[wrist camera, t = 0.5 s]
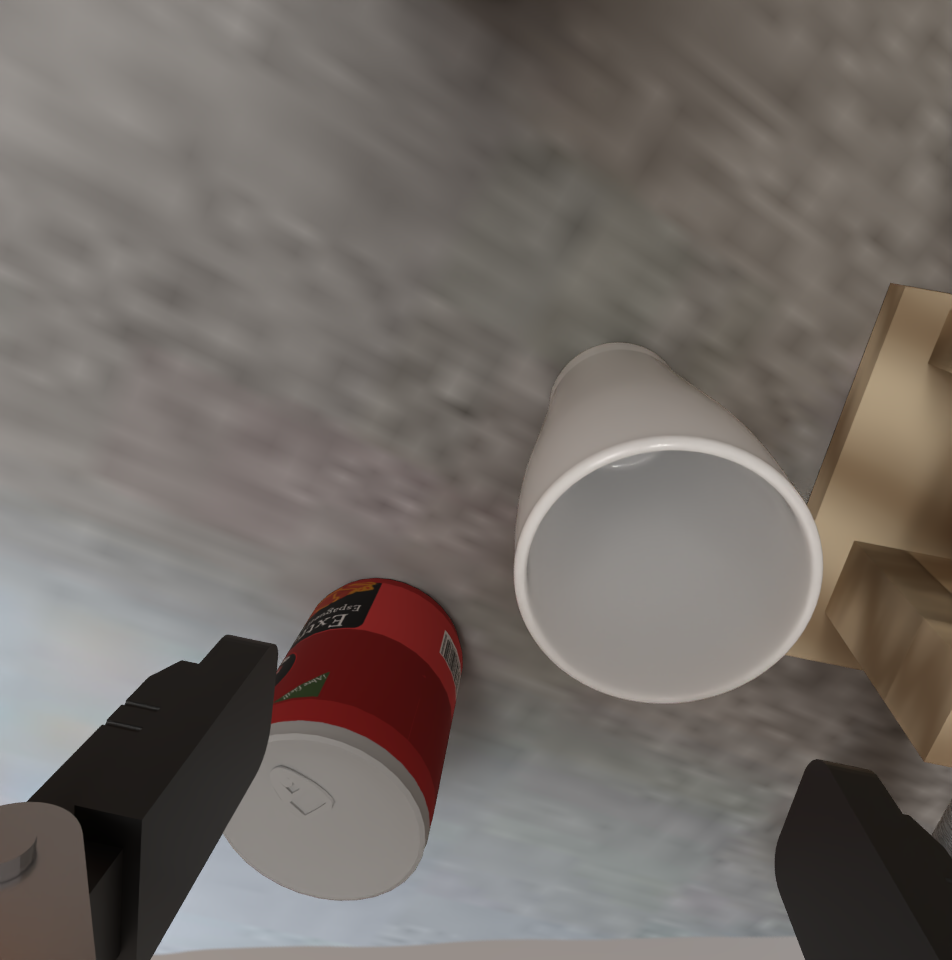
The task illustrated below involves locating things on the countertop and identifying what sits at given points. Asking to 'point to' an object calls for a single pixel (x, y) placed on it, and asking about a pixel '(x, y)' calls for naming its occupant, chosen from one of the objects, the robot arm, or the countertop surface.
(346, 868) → the canned food
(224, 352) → the countertop surface
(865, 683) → the countertop surface
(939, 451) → the block
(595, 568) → the drinking glass
